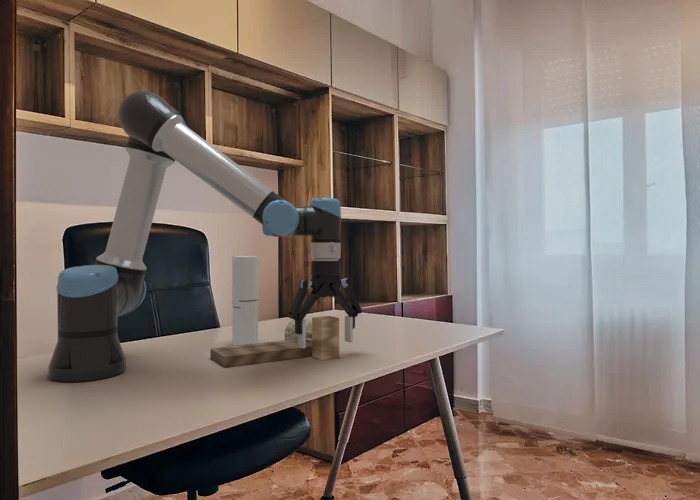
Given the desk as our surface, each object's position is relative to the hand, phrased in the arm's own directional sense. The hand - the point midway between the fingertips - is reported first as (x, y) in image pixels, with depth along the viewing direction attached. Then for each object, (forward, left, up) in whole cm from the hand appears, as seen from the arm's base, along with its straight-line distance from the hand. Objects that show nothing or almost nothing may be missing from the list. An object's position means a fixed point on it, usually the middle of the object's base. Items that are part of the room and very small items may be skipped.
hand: (325, 344), depth 127 cm
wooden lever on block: (0, +5, -3) cm, 6 cm away
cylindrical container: (-11, +27, -3) cm, 29 cm away
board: (-10, +9, -3) cm, 14 cm away
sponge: (+3, +20, -3) cm, 21 cm away
